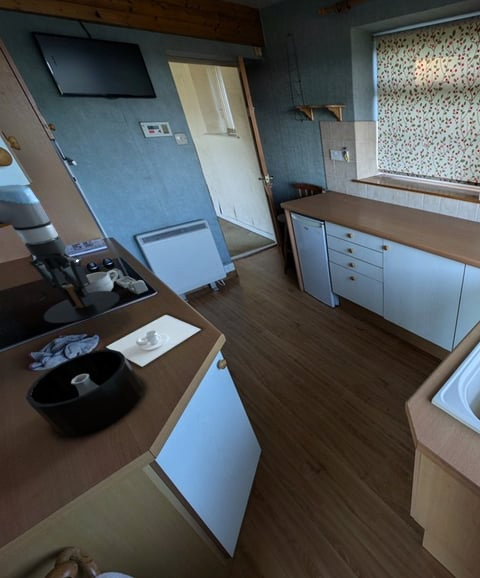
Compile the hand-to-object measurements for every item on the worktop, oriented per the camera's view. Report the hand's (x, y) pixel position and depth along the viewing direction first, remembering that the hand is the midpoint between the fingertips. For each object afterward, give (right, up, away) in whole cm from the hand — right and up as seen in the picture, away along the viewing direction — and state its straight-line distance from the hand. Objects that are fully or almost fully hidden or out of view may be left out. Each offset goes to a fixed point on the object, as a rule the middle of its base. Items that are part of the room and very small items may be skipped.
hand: (82, 304), depth 99 cm
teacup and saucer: (+23, -12, +2) cm, 26 cm away
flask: (+27, -26, -21) cm, 43 cm away
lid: (0, -1, +1) cm, 1 cm away
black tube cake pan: (+27, -26, -21) cm, 43 cm away
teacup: (-17, +4, +26) cm, 32 cm away
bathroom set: (-12, +7, +32) cm, 35 cm away
